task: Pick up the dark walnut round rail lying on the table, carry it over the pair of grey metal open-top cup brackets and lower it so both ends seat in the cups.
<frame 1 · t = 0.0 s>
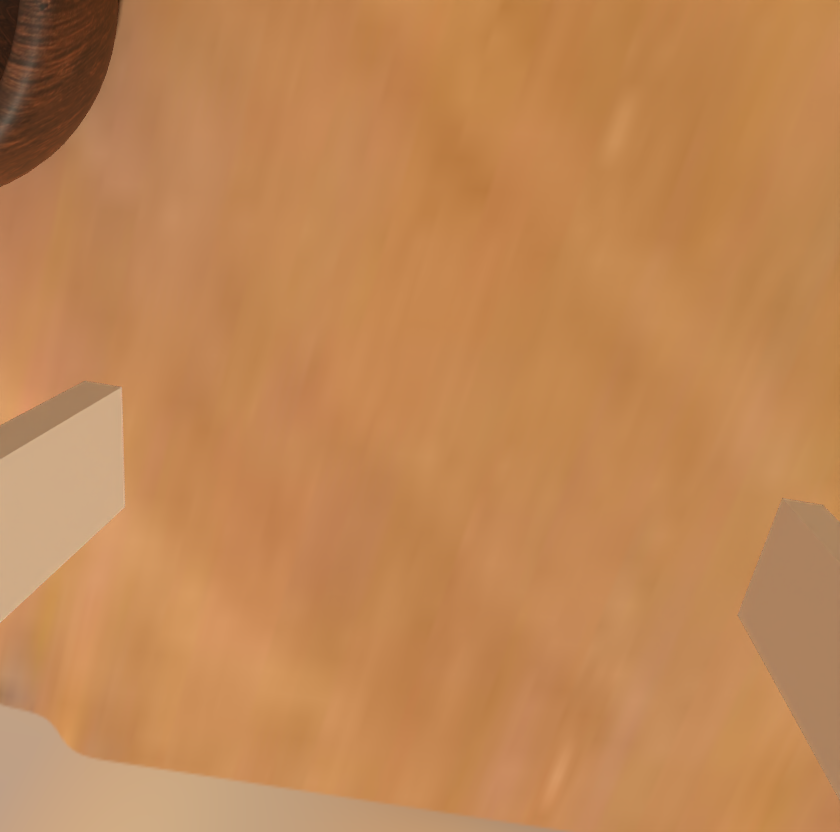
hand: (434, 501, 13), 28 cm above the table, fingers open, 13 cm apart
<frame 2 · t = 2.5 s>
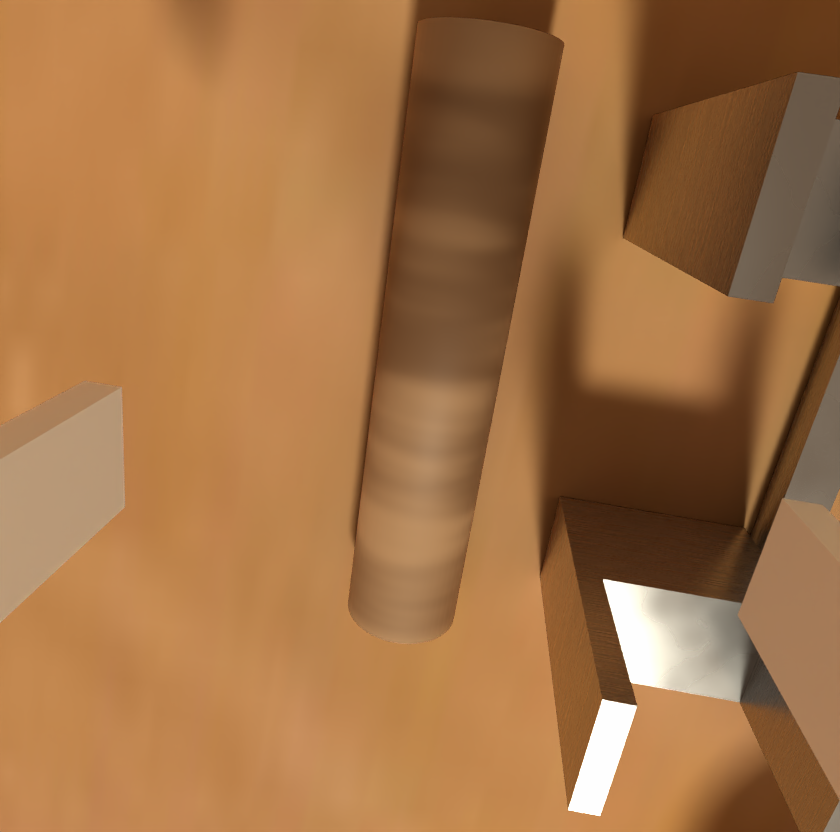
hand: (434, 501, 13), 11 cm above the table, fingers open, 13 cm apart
bracket: (688, 392, 23), on the table
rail: (458, 354, 23), on the table, tilted 16°
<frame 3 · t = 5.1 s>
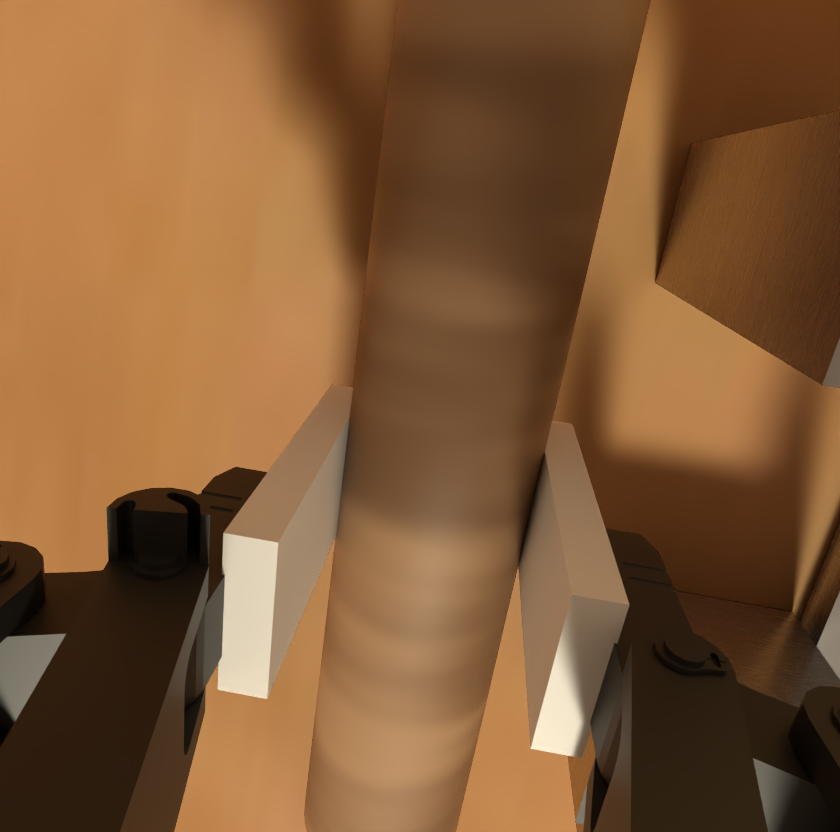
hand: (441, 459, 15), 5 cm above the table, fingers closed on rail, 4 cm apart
bracket: (729, 459, 20), on the table
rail: (484, 464, 16), point 5 cm above the table, tilted 29°, touching gripper
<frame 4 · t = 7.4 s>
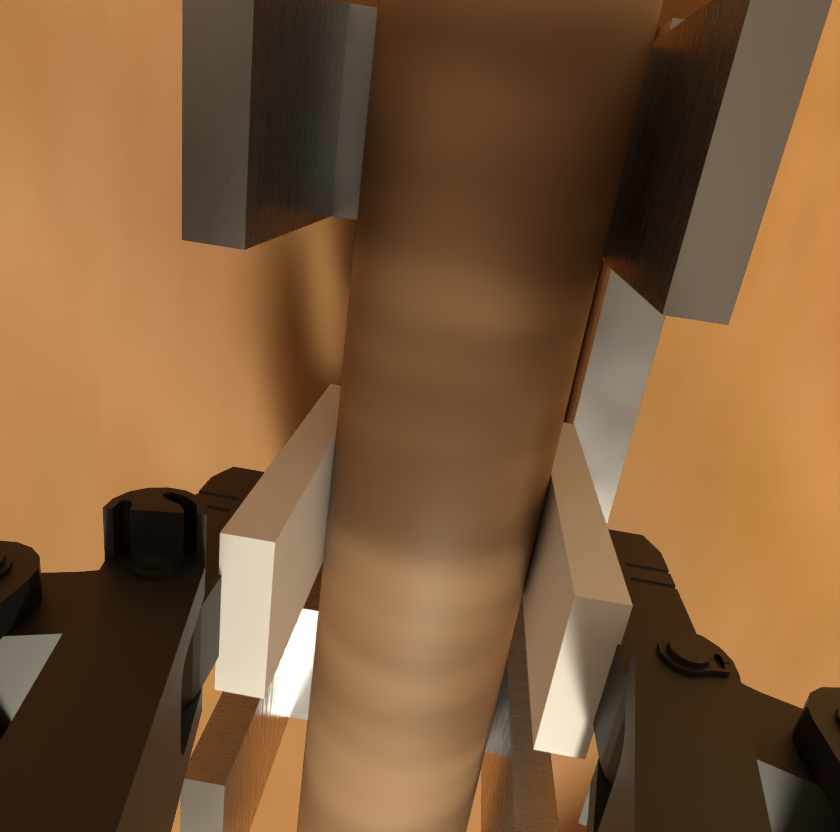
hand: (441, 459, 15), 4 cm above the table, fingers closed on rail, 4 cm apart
bracket: (442, 382, 19), on the table
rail: (473, 472, 14), point 5 cm above the table, tilted 22°, touching bracket, gripper
when the fingers open (4 cm above the table, at t = 7.7 s): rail stays where it is and tips over, resting on bracket.
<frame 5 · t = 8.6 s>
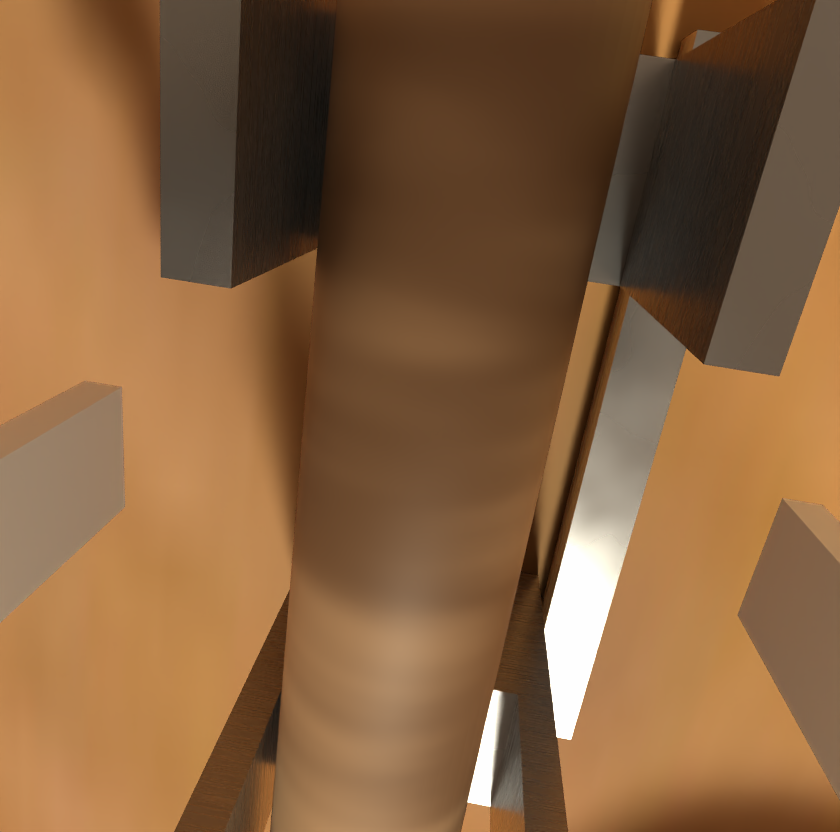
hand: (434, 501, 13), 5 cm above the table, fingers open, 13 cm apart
bracket: (450, 410, 18), on the table
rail: (479, 520, 13), point 5 cm above the table, tilted 39°, touching bracket
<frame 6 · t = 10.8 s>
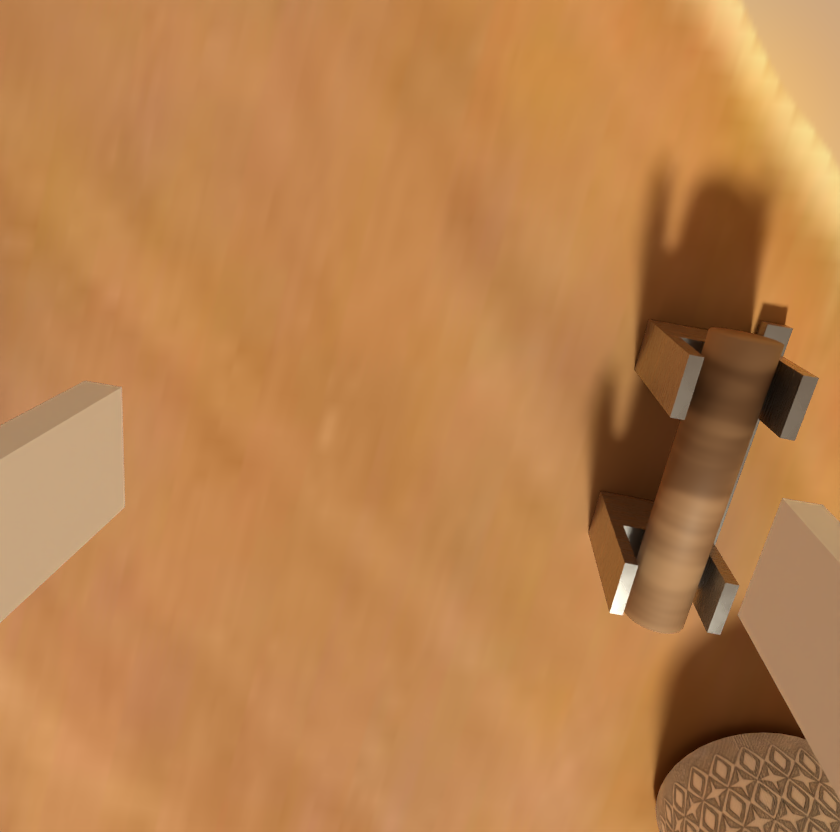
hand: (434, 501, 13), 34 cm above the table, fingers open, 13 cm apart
planter: (750, 794, 57), on the table
bracket: (664, 441, 47), on the table
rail: (698, 475, 42), point 5 cm above the table, tilted 21°, touching bracket
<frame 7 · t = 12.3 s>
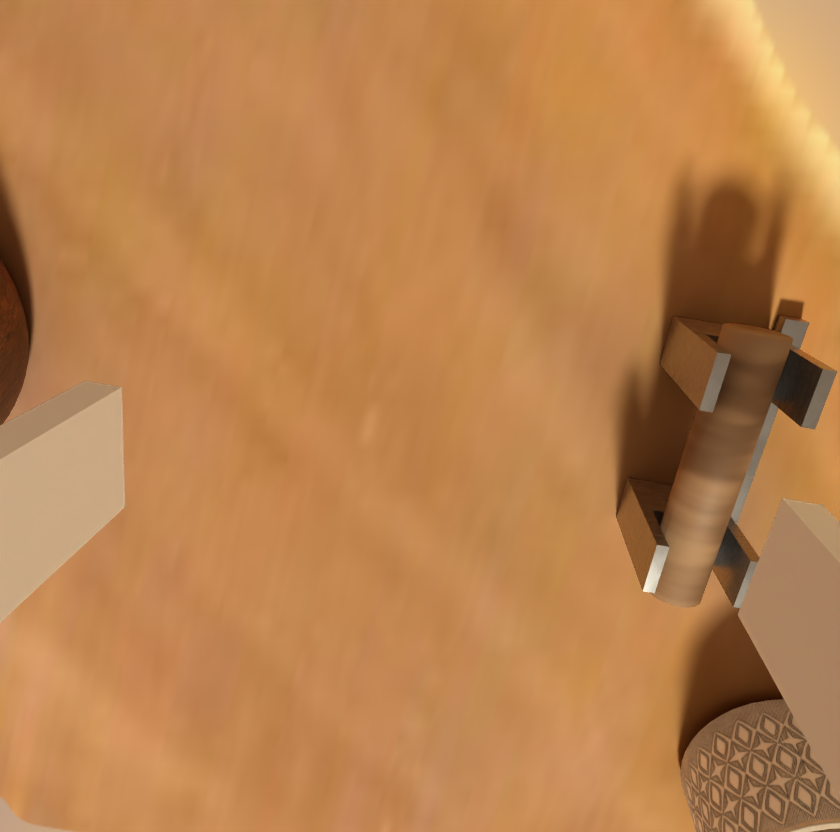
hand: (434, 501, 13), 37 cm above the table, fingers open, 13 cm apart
planter: (769, 757, 61), on the table
bracket: (687, 429, 50), on the table
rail: (722, 464, 45), point 5 cm above the table, tilted 39°, touching bracket
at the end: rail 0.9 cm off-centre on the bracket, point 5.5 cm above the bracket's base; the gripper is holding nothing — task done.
